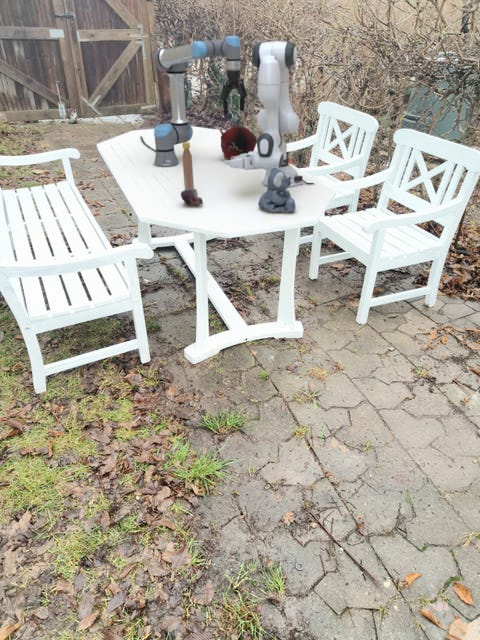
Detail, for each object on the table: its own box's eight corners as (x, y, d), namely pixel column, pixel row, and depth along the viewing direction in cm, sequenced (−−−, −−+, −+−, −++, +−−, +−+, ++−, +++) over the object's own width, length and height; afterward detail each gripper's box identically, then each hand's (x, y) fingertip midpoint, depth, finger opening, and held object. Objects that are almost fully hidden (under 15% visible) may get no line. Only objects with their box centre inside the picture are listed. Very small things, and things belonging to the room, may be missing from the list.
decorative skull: (217, 132, 306) (217, 129, 282) (251, 124, 305) (253, 121, 281) (224, 164, 313) (224, 164, 289) (257, 157, 312) (260, 156, 288)
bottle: (193, 190, 249) (190, 142, 235) (194, 193, 245) (191, 144, 231) (184, 191, 249) (181, 142, 234) (185, 194, 245) (181, 145, 230)
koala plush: (296, 213, 220) (299, 173, 208) (260, 215, 219) (260, 174, 207) (290, 201, 234) (292, 163, 223) (256, 202, 233) (256, 164, 222)
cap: (189, 146, 235) (189, 141, 234) (190, 148, 232) (189, 143, 231) (182, 147, 235) (182, 142, 234) (182, 148, 232) (182, 143, 231)
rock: (196, 202, 238) (178, 205, 233) (194, 185, 234) (176, 188, 230) (205, 205, 228) (187, 208, 224) (203, 188, 224) (185, 191, 220)
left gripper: (222, 72, 234) (223, 116, 246) (253, 68, 249) (253, 109, 261) (212, 71, 238) (213, 114, 250) (243, 67, 253) (243, 108, 265)
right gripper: (258, 150, 240) (234, 150, 245) (245, 157, 224) (220, 157, 228) (258, 162, 244) (234, 162, 248) (246, 170, 227) (221, 170, 231)
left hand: (234, 112), depth 255 cm, fingers open, 13 cm apart
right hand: (227, 160), depth 238 cm, fingers open, 8 cm apart
